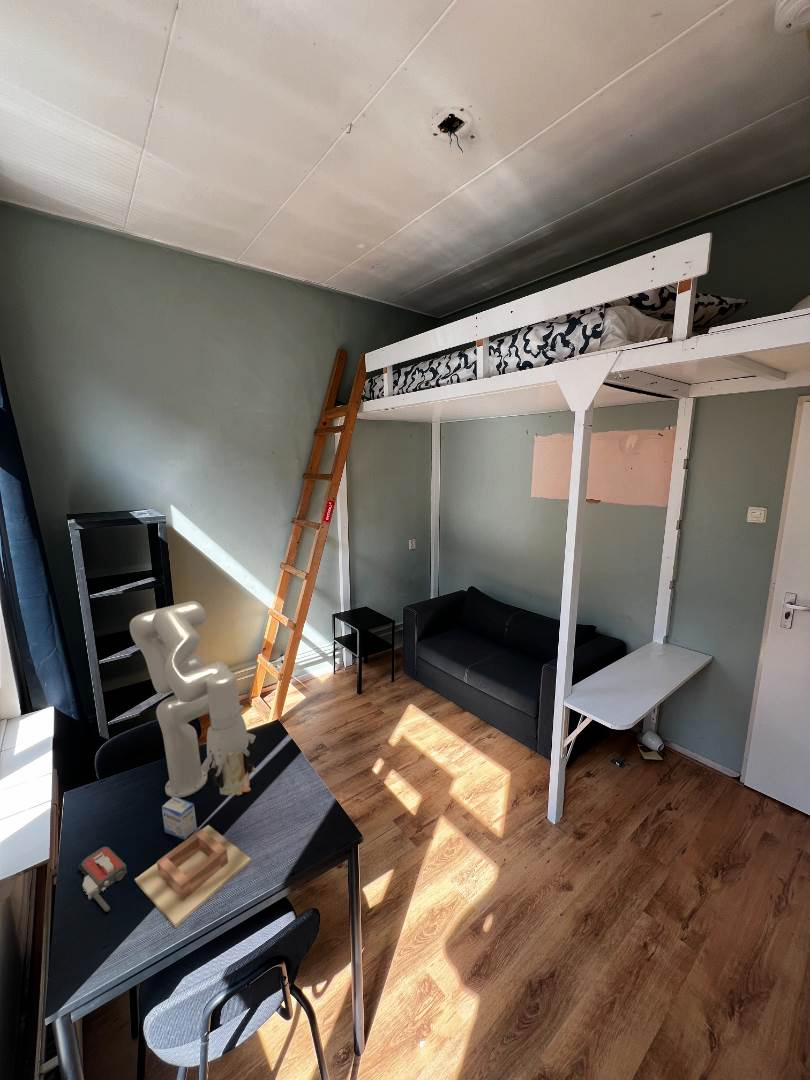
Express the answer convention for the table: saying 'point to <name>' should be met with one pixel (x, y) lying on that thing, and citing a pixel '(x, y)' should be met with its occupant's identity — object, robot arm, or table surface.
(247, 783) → the grandmother figurine
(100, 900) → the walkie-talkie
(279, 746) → the table surface
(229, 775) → the skincare box
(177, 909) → the socket stand
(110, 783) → the table surface
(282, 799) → the table surface
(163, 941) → the table surface
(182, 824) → the medicine box
